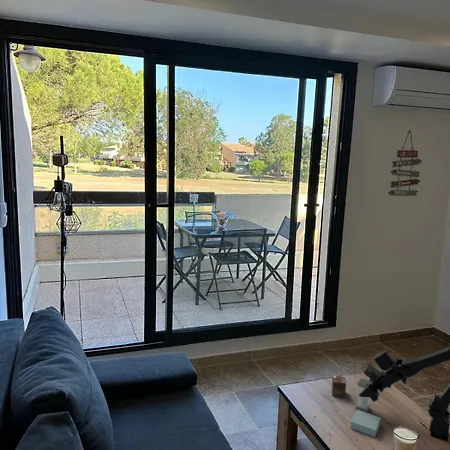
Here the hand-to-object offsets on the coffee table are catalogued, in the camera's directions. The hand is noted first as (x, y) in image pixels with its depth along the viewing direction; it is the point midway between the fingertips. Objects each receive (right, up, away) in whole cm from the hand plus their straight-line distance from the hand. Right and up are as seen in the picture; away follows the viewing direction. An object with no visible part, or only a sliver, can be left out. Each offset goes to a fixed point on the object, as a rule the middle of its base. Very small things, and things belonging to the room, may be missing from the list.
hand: (360, 393), depth 185 cm
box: (-7, -5, +12) cm, 15 cm away
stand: (-2, -9, -12) cm, 15 cm away
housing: (+1, -7, 0) cm, 7 cm away
